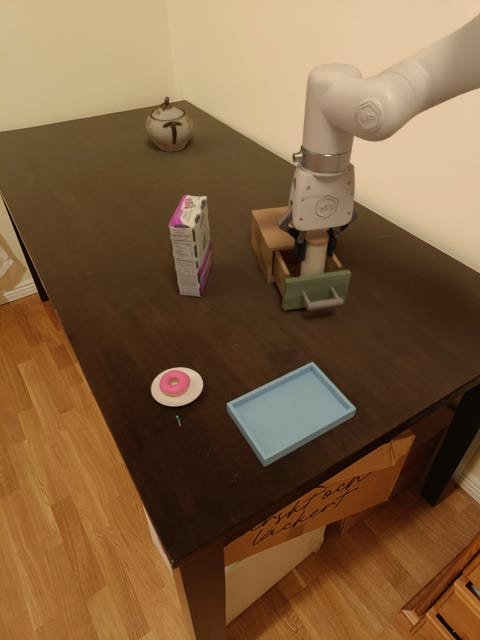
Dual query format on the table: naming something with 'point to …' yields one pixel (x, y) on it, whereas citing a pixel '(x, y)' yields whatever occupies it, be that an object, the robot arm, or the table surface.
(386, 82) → the robot arm
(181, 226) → the candy bar box
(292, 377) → the tray
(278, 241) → the cabinet
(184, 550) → the table surface
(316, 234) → the spice pot
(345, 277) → the drawer
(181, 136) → the sugar bowl
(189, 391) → the donut
